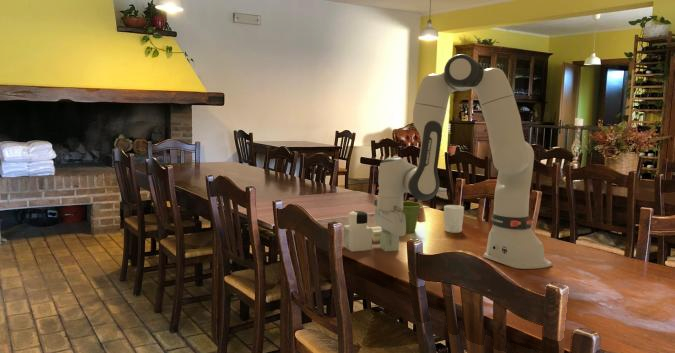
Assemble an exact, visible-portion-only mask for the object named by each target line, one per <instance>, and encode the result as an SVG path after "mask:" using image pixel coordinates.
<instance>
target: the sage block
mask: <svg viewBox="0 0 675 353" xmlns="http://www.w3.org/2000/svg"><path fill="white" fill-rule="evenodd" d="M391 238H392V236H391V233H390V232H388V231H380V243H379V248H380V249H382V251H384V252H393V251H394V252H395V251H399V250H400V249H399V247H400V236H398V238H397V241H396V246H392V245H391V244H390V240H391Z"/></svg>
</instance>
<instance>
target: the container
mask: <svg viewBox="0 0 675 353" xmlns="http://www.w3.org/2000/svg"><path fill="white" fill-rule="evenodd" d="M368 216H369V215H368V213H367V212H365V211H363V210H362V211H361V210H353V211H351V212H349V213H348V224H345V225H344V226H343V247H344V248H346V249H347V250H348V251H350V252H364V251H372V248H373V241H372V228H370V227H371V226H368Z"/></svg>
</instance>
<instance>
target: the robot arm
mask: <svg viewBox="0 0 675 353" xmlns="http://www.w3.org/2000/svg"><path fill="white" fill-rule="evenodd" d="M470 90H472V91H473V92H474V93H475V94H476V96H477V99H478V103H479V105H480V108H481V112H482V115H483V118H484V121H485V125H486V129H487V134H488V142H489V148H490V152H491V156H492V162H493V163H492V164H493V167H494V168H495V169H496V171H498V172H497V173H498V174H497V178H496V179H497V180H496V185H495V189H494V197H493V198H494V201H493V204H494V205H493V213H492V215H491V224H492V226H491V229H490V231H489V232H488V236H487V237H488V238H487V243H486V244H487V245H486V251H485V252H484V253H483V258H485V259H489V260H491V261H494V262H497V263H500V264H503V265H505V266H508V267H511V268H513V269H523V270H533V269H534V270H535V269H543V268H549V267H552V266H553V263H552V262H551V261H550V260H548V259H547V258H545V248H544V247H545V246H544V244H543V242H542V241H541V240H540V239H539V238H538V236H537V235H536V234H535V233H534V231H533V230H532V225H534V223H533V222H534V220H531V218H530V215H529V212H530V207H529V206H530V194H531V192H530V191H531V186H532V178H533V170H534V161H535V152H534V149H533V147H532V145H531V144H530V143H528V142H527V141H526V140H525V135H524V130H523V125H522V119H521V118H522V117H521V115H520V111H519V108H518V104H517V101H516V98H515V96H514V95H515V94H514V92H513V89H512V87H511V84H510V82H509V80H508V78H507V75H506V74H505V72H504V71H503V70H502V69H501V68H499V67H489V68H485V69H484V67H483V66H482V65H481V64H480V63H479V62H477V60H476V59H474V58H473V57H472V56H470V55H468V54H464V53H460V54H456V55H453V56H451V57H450V58H449V59H448V60H447V62H446V63H445V66H444V69H443V72H442V73H430V74H429V73H428V74H427V75H425V76H423V78H422V79H421V81H420V84H419V86H418V89H417V93H416V95H415V99H414V105H413V111H412V123H413V126H414V128H415V129H416V132H418V134H419V137H420V151H419V157H418V163H417V164H418V165H415V164H412V163H411V162H410V163H409V162H408V161H406V160H405V159H404V158H402V157H399V156H393V157H386V158H384V159H383V160H382V161H380V164H379V168H378V178H377V179H378V180H377V181H378V182H377V183H378V189H379V190H378V193H377V198H375V199H373V206H374V222H375V225H376V226H377V227H379V226H380V227H382V231H388V232H390V233H391V236H392V238H391V240H390V244H391V245H392V246H396V241H397V238H398V236H399V237H402V236H403V237H404V236H406V234H407V233H406V219H405V215H404V213H403V212H402V210H403V201H404V194H405V193H406V194H407V193H409V194H410V195H412V197H414V198H415V199H416V200H418V201H429V200H431V199H433V198H434V197H436V195H437V194H438V193H439V190H440V178H439V174H438V170H439V169H438V168H439V167H438V166H439V160H440V159H439V158H440V153H441V146H442V145H441V144H442V134H443V129H444V123H445V118H446V115H447V114H446V113H447V109H448V103H449V99H450V96H451V95H452V94H459V93H465V92H468V91H470Z"/></svg>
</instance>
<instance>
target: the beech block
mask: <svg viewBox="0 0 675 353" xmlns="http://www.w3.org/2000/svg"><path fill="white" fill-rule="evenodd" d="M369 227H370V228H372V243H378V242H380V231H382V227H380V226H369Z"/></svg>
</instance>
